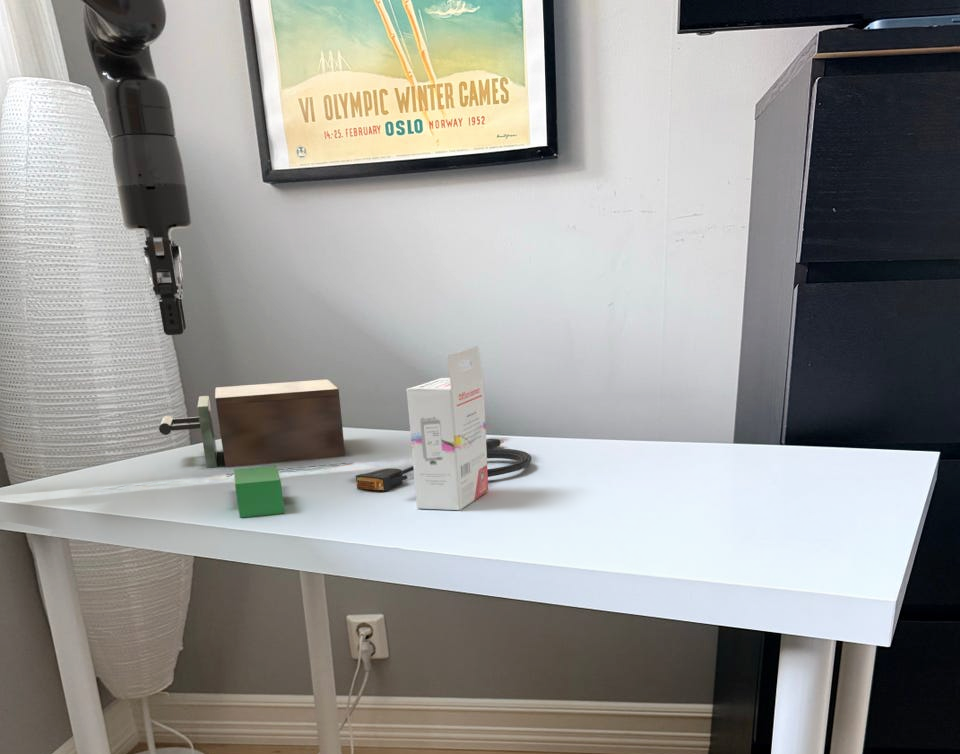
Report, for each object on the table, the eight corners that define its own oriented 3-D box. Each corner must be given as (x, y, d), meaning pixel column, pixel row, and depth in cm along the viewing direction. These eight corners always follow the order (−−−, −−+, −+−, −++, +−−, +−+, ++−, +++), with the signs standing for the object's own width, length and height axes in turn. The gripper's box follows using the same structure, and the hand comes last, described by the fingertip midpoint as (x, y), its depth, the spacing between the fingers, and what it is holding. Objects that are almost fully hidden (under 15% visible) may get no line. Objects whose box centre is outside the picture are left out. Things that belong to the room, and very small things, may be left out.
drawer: (164, 472, 111) (154, 410, 109) (169, 456, 122) (159, 399, 119) (318, 457, 115) (311, 397, 113) (310, 443, 126) (304, 388, 123)
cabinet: (226, 474, 113) (215, 398, 109) (225, 457, 124) (215, 387, 121) (346, 463, 116) (338, 388, 113) (334, 447, 127) (327, 379, 124)
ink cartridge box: (446, 490, 99) (437, 346, 94) (489, 491, 97) (483, 345, 92) (413, 509, 92) (401, 354, 86) (460, 511, 90) (451, 353, 84)
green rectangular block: (239, 518, 92) (234, 484, 90) (238, 501, 99) (233, 469, 98) (284, 513, 93) (280, 479, 91) (280, 496, 100) (276, 465, 99)
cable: (583, 452, 116) (583, 439, 115) (453, 501, 94) (452, 486, 94) (492, 445, 123) (491, 434, 122) (352, 489, 101) (350, 476, 101)
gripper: (122, 190, 111) (147, 332, 117) (110, 178, 98) (138, 338, 104) (187, 188, 113) (208, 328, 119) (183, 176, 100) (207, 333, 106)
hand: (176, 332), depth 112 cm, fingers open, 8 cm apart
